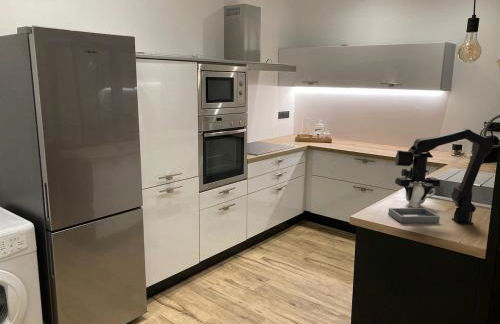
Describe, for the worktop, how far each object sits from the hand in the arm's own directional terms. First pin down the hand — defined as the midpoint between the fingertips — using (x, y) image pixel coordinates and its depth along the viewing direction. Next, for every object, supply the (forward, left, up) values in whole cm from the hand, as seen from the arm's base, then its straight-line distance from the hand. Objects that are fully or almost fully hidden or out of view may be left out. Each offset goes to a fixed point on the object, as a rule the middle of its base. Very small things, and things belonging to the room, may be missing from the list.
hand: (415, 200), depth 177 cm
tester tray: (0, 0, -9) cm, 9 cm away
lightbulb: (0, 0, -4) cm, 4 cm away
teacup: (-13, -19, -9) cm, 25 cm away
